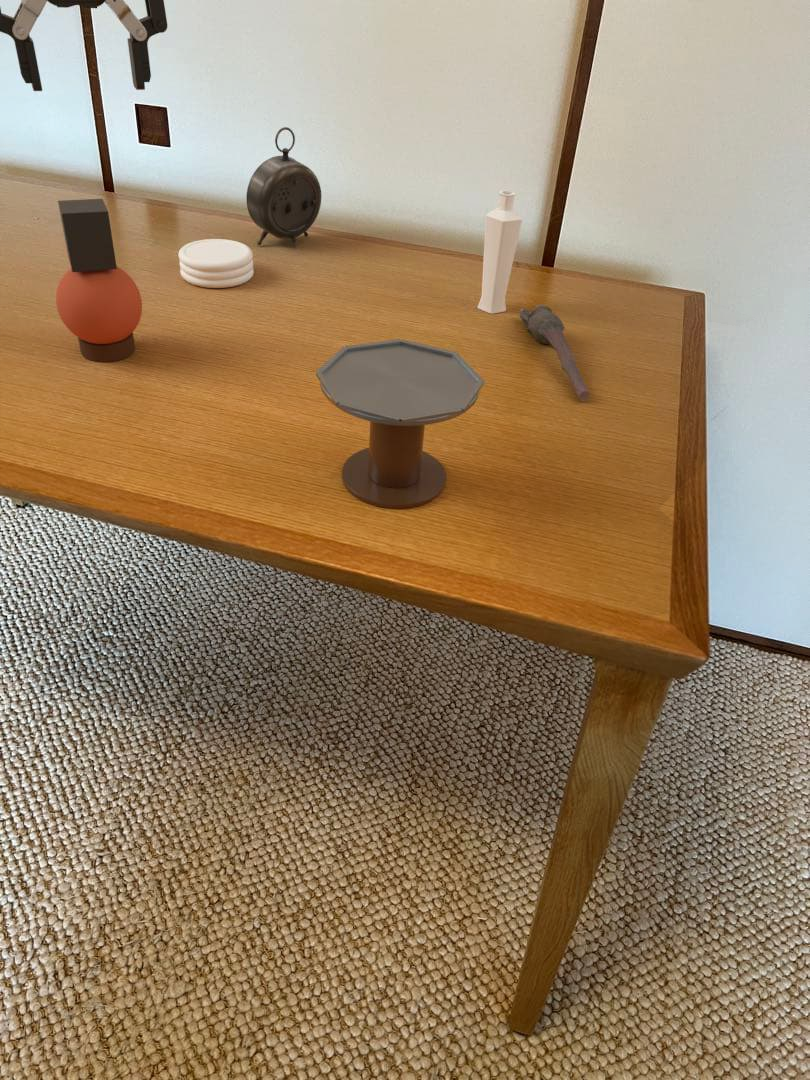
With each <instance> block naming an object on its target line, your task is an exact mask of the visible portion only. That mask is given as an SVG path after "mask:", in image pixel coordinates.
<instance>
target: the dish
mask: <svg viewBox="0 0 810 1080" xmlns="http://www.w3.org/2000/svg"><path fill="white" fill-rule="evenodd" d="M315 376H316V377H317V379H318V380H319V387H320V390H321V391H322V393H323V395H324V397H325V398H326V400H327V401H328V402H330V403H331V404H332V405H333V406H334V407H336V408H337V409H339V410H340V411H342V412H344V413H346V414H348V415H350V416H352V417H355V418H358V419H361V420H364V421H367V422H369V440H368V447H367V448H363V449H361V450H358V451H357V452H355V453H353V454H352V455H350V456H349V457H348V458H347V459H346V460H345V462H344V463H343V466H342V469H341V481H342V484H343V485H344V488H345V489H346V490H347V492H349V493H350V494H351V495H352V496H353V497H355V498H356V499H358V500H360V501H361V502H363V503H365V504H368V505H371V506H374V507H378V508H383V509H391V510H392V509H394V510H399V509H400V510H403V509H411V508H416V507H420V506H424V505H426V504H429V503H431V502H432V501H434V500H435V499H437V498H438V497H439V496H440V495H441V494H442V493H443V491H444V489H445V488H446V484H447V472H446V469H445V467H444V466H443V464H442V463H441V462H440V461H439V460H438V459H436V457H434V456H433V455H431V454H429V452H425V451H423V450H424V440H425V439H424V438H425V429H426V428H425V427H426V426H427V425H434V424H439V423H444V422H446V421H450V420H453V419H455V418H457V417H460V416H461V415H463V414H464V413H466V412H468V411H469V410H470V409H471V408H472V407H473V406H474V405H475V404H476V402H477V401H478V398H479V395H480V391H481V389H482V387H483V386H484V384H485V379H484V378H483V377H482V376H481V375H480V374H479V373H478V372H477V371H476V370H475V369H474V368H473V367H472V366H471V364H469V363H468V362H467V361H466V360H465V359H464V357H462V356H461V355H460V354H459V353H458V352H456V351H453V350H449V349H445V348H441V347H436V346H434V345H433V346H432V345H428V344H424V343H419V342H415V341H411V340H407V339H403V338H401V339H400V338H396V339H389V340H382V341H374V342H365V343H359V344H357V343H356V344H349V345H345V346H342V347H341V348H340V349H339V350H338V351H337V352H335V354H334V355H332V356H331V357H330V358H329V359H328V360H327V361H325V362H324V363H323V364H322V365H321V366H320V367H319V368H318V369H317V370H316V371H315Z"/></svg>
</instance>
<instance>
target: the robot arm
mask: <svg viewBox="0 0 810 1080" xmlns="http://www.w3.org/2000/svg"><path fill="white" fill-rule="evenodd" d="M47 2H48V3H49V4H50V5H53V6H55V7H56V8H63V9H65V8H66V9H67V8H72V7H75V6H79V7H83V8H86V9H98V8H99V7H100V6H102V5H103V4H106V6H107V7H108V8H109V9H110V11H111V12H113V14H114V15H115V16H116V18H117V19H118V20H119V21H120V23H121V24H122V26H123V27H124V28H125V29H126V31H127V32H128V33H129V37H128V38H127V46H128V47H127V48H128V54H129V63H130V71H131V78H132V84H133V87H134V88H135V90H136V91H145V90H146V84H145V83H150V81H151V78H152V72H151V64H150V55H149V54H150V53H149V45H148V44H149V43H148V42H149V40H150V38H151V37H152V36H155V35H157V34H163V33H165V32H166V31H167V30H168V19H167V13H166V12H167V11H166V5H165V0H144V3H145V9H146V16H144V17H142V18H138V17H137V16H136V15H135V13H134V11H133V10H132V9H131V8H130V7H129V5H128V4H127V2H126V1H125V0H21V1H20V3H19V5H18V8H17V10H16V11H15V14H14V16H10V15H8V14H6V13H3V12H2V9H1V8H2V7H0V33H2V34H5V35H8V36H9V37H10V38H11V39H12V40H13V42H14V46H15V52H16V56H17V61H18V66H19V71H20V75H21V78H22V80H23V81H24V83H25V84H31V87H32V91H33V92H43V86H42V80H41V75H40V70H39V65H38V60H37V55H36V48H35V43H34V41H33V38H32V37H30V33H31V32H32V29H33V27H34V26H35V23H36V22H37V20H38V18H39V17H40V15H41V14H42V12H43V10H44V8H45V6H46V4H47Z"/></svg>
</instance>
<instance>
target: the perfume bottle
mask: <svg viewBox="0 0 810 1080" xmlns="http://www.w3.org/2000/svg"><path fill="white" fill-rule="evenodd" d="M516 195H517V194H516V192H515V191H513V190H508V189H507V190H506V189H501V190H499V191H498V201H497V207H496V208H494V209H492V210H491V211H489V212H488V213H486V214H485V223H484V225H485V226H484V240H483V243H484V244H483V259H482V262H483V263H482V279H481V280H482V281H481V297H480V300H479V302H478V304H477V307H476V308H477V309H479V310H481V311H483V312H485V313H488V314H492V315H493V314H497V313H504V312H507V308H506V306H507V305H506V295H507V290H508V286H509V281H510V277H511V273H512V269H513V263H514V259H515V254H516V249H517V245H518V240H519V237H520V231H521V226H522V221H523V218H522V216H521V215H520V214H519V213H518V212H517V211H516V210H515V209H514V203H515V197H516Z"/></svg>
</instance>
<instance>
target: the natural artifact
mask: <svg viewBox="0 0 810 1080" xmlns="http://www.w3.org/2000/svg"><path fill="white" fill-rule="evenodd" d="M519 311H520V312H519V318H520V319H521V320H522V322H523V324H525V325H526V326H528V327H527V328H526V332H527V333H528V334H532V337H533V339H534V340H535V341H537V342H538V343H540V344H547V345H550V344H551V346H552V348H553V349H554V351H555V353H556V355H557V358H558V360H559V362H560V365H561V370H563V371H564V372H565V374H567V377H568V378H569V380H570V382H571V385H572V387H573V389H574V391H575V393H576V395H577V397H578V398H579V401H581V402H583V403H585V402H588V401H589V399H590V395H591V393H590V391H589V389H588V388H587V387H588V386H587V385H586V383H585V382H584V379H583V378H582V375H581V374H580V371H579V369H578V366H577V363H576V358H575V355H574V354H573V352H572V350H571V347H570V345H569V343H568V341H567V339H566V337H565V335H564V330H566V327H565V326H564V323H563V321H562V320H561V318H560V317H559V316H558V315H557V314H555V313H554V312H552V311H553V310H552V309H551V308H550V307H548V305H543V304H538V305H536V306H535V308H534V309H532V310H529V309H528V308H526V309H523V308H521V309H520V310H519Z"/></svg>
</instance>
